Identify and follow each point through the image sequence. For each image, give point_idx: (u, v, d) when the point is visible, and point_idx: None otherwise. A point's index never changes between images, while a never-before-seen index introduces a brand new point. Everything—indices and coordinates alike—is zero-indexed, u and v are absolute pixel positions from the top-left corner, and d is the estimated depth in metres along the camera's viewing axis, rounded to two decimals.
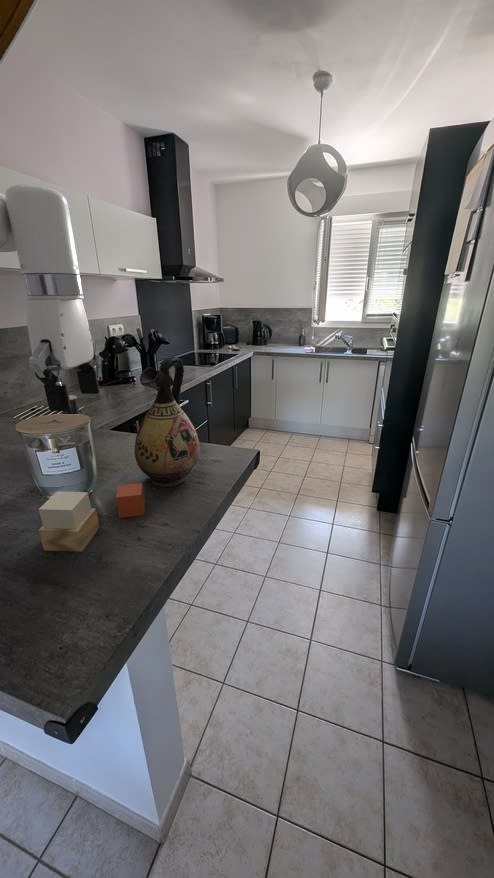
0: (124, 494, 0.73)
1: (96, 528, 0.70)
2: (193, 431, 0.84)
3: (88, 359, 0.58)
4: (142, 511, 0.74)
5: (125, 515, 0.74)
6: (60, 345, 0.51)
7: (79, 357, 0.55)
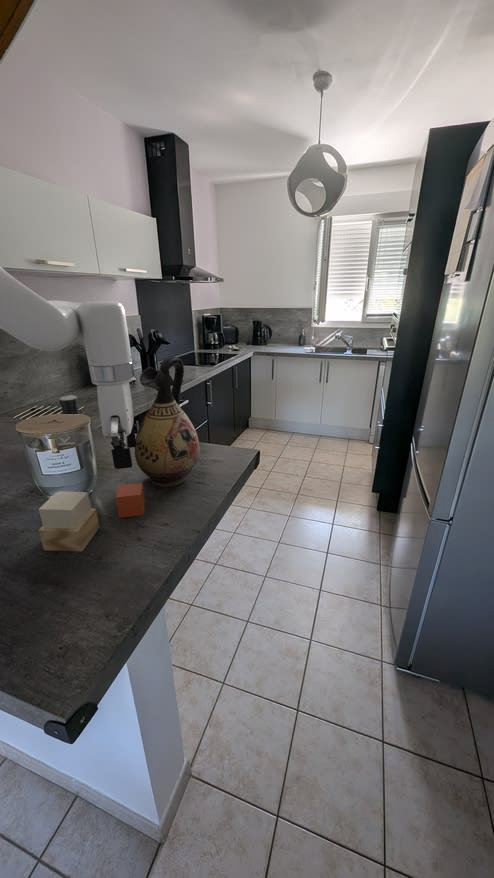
0: (124, 494, 0.73)
1: (96, 528, 0.70)
2: (193, 431, 0.84)
3: None
4: (142, 511, 0.74)
5: (125, 515, 0.74)
6: (126, 418, 0.64)
7: (132, 423, 0.69)
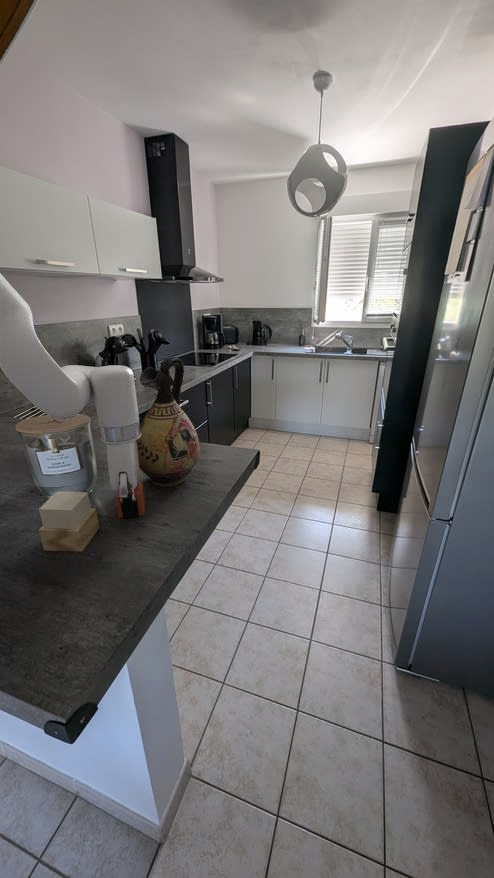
0: None
1: (96, 528, 0.70)
2: (193, 431, 0.84)
3: None
4: (142, 511, 0.74)
5: None
6: (133, 474, 0.68)
7: None
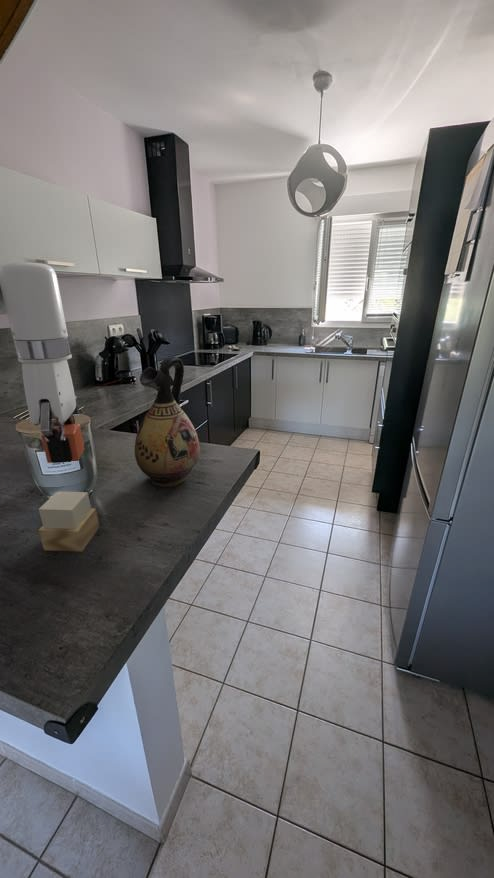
0: None
1: (96, 528, 0.70)
2: (193, 431, 0.84)
3: (73, 409, 0.62)
4: (76, 455, 0.61)
5: None
6: (58, 403, 0.55)
7: (69, 409, 0.59)
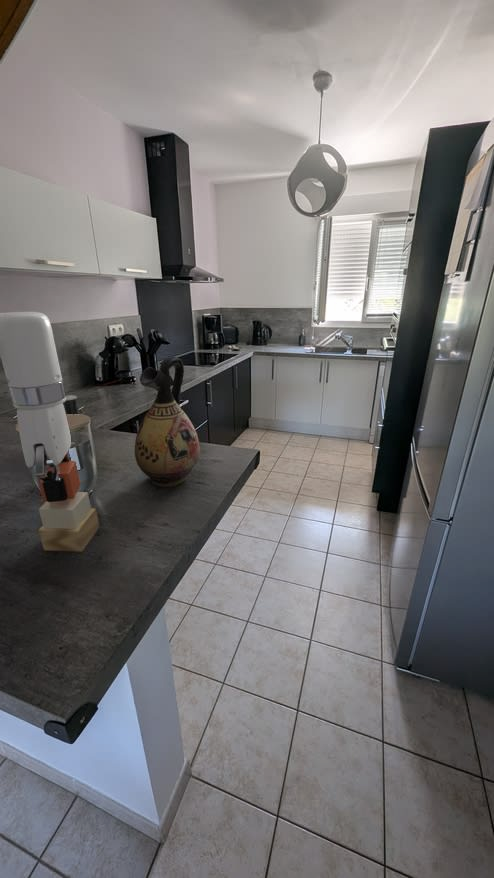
0: None
1: (96, 528, 0.70)
2: (193, 431, 0.84)
3: (69, 447, 0.63)
4: (72, 494, 0.62)
5: None
6: (53, 446, 0.56)
7: (64, 450, 0.60)
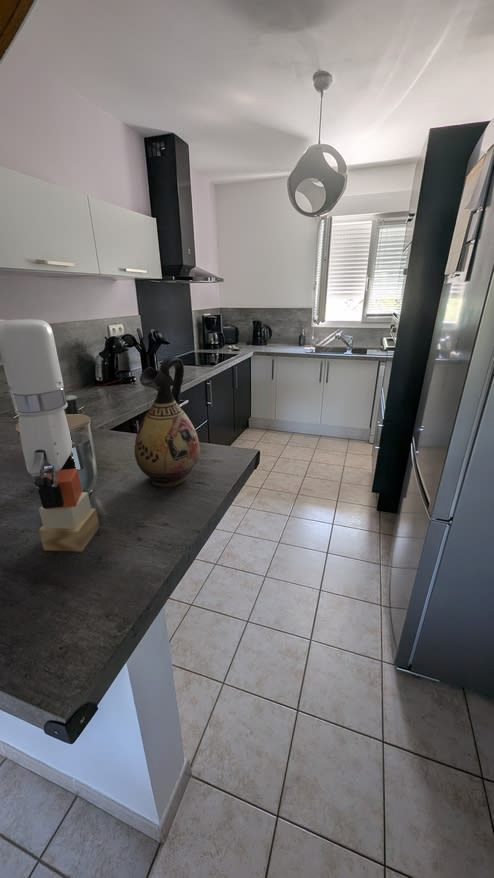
0: None
1: (96, 528, 0.70)
2: (193, 431, 0.84)
3: (70, 453, 0.64)
4: (74, 501, 0.62)
5: None
6: (54, 453, 0.56)
7: (65, 455, 0.61)
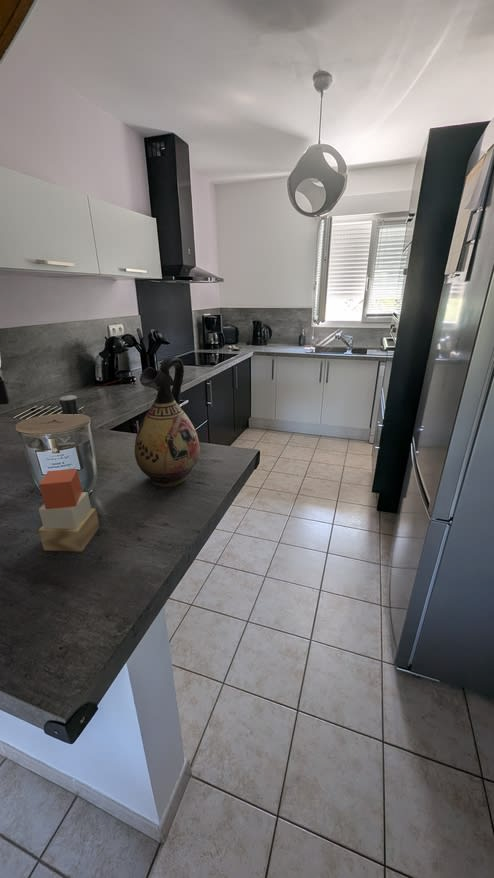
0: (51, 481, 0.61)
1: (96, 528, 0.70)
2: (193, 431, 0.84)
3: None
4: (74, 501, 0.62)
5: (53, 506, 0.62)
6: None
7: None
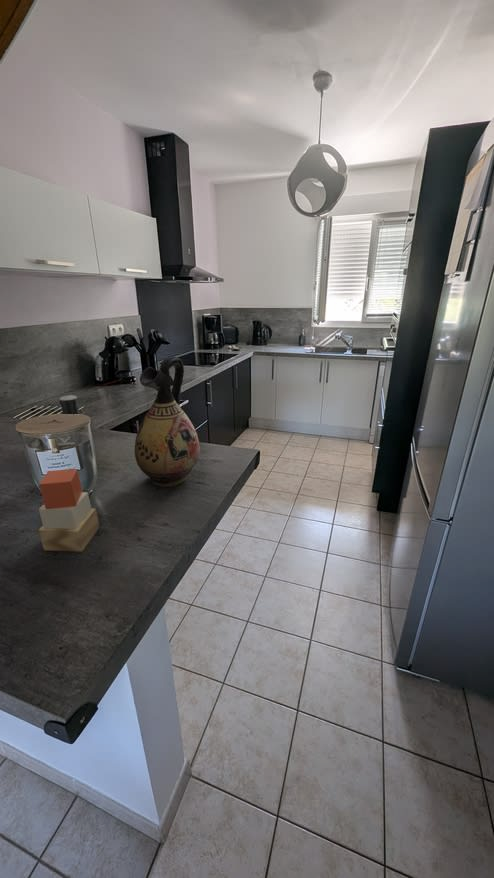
0: (51, 481, 0.61)
1: (96, 528, 0.70)
2: (193, 431, 0.84)
3: None
4: (74, 501, 0.62)
5: (53, 506, 0.62)
6: None
7: None
